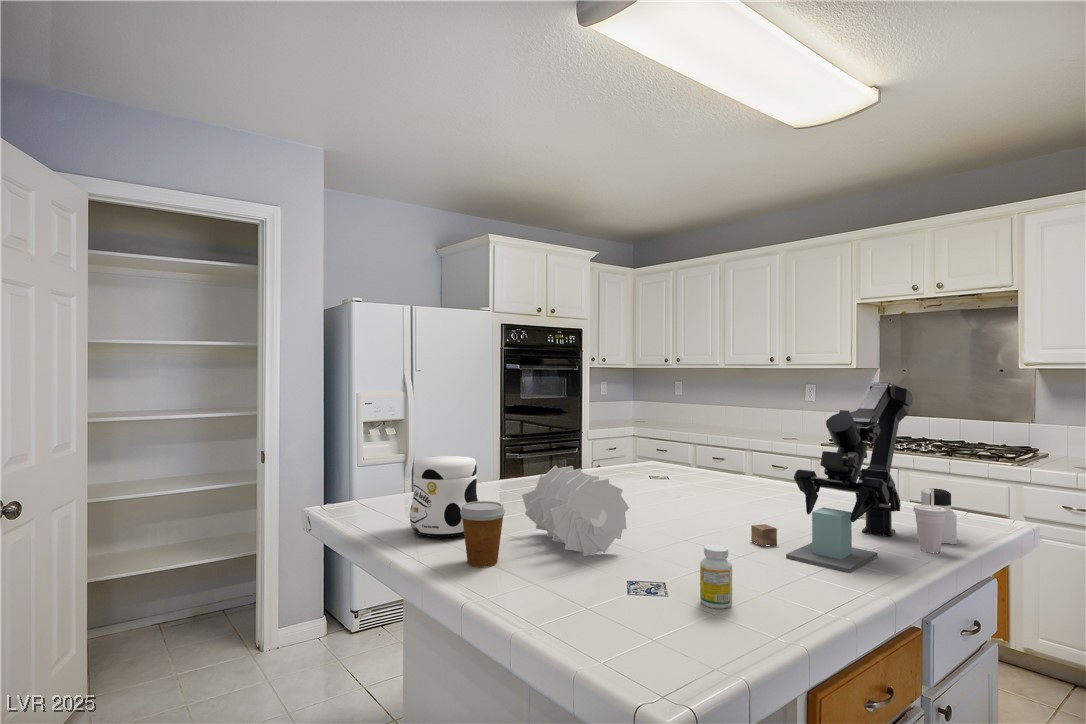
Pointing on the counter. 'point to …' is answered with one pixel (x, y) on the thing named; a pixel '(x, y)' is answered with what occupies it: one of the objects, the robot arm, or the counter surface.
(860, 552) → the mat
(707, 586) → the supplement bottle
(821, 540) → the pale teal box
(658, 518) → the counter surface
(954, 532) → the medicine bottle
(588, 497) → the spiral staircase
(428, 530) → the milk container
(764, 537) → the block
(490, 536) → the disposable coffee cup
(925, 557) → the counter surface
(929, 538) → the smoothie
